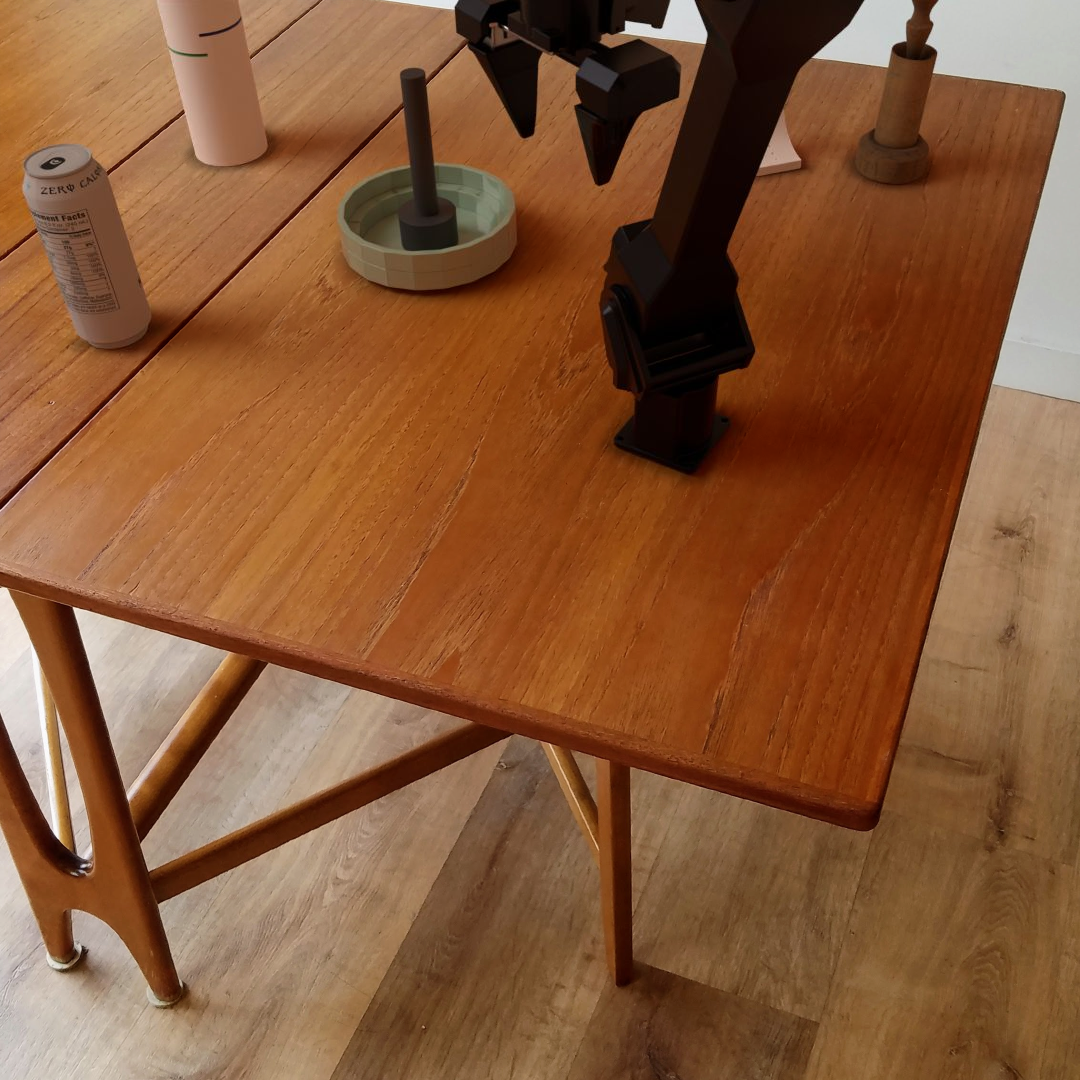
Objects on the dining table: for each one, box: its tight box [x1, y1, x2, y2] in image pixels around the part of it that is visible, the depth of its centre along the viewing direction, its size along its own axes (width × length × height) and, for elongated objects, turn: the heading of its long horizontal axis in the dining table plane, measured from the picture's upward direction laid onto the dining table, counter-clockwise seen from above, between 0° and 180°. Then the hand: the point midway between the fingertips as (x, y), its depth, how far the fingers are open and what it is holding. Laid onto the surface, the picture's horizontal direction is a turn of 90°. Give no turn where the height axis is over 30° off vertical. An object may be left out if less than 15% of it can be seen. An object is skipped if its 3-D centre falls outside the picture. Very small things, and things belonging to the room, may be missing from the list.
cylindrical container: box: [156, 0, 269, 167], centre depth 106 cm, size 7×7×25 cm
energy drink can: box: [21, 142, 152, 350], centre depth 89 cm, size 6×6×15 cm
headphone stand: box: [756, 108, 802, 177], centre depth 107 cm, size 5×6×12 cm
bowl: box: [336, 162, 518, 291], centre depth 100 cm, size 15×15×4 cm
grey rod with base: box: [398, 67, 459, 251], centre depth 96 cm, size 5×5×15 cm
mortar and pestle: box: [854, 0, 940, 185], centre depth 103 cm, size 7×6×18 cm
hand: (563, 159), depth 85 cm, fingers open, 9 cm apart
